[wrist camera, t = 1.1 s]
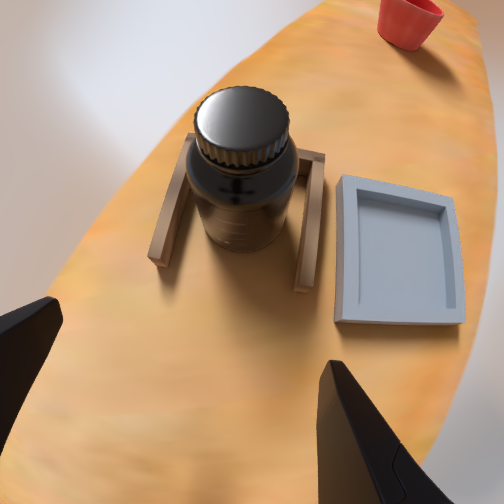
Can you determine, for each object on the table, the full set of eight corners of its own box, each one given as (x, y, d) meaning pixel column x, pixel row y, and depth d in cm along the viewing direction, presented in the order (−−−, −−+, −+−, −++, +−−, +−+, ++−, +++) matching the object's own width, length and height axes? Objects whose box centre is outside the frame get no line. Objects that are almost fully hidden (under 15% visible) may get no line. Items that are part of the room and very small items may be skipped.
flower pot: (433, 51, 37) (452, 13, 28) (410, 62, 35) (431, 16, 25) (387, 20, 39) (401, -18, 30) (357, 27, 37) (371, -18, 28)
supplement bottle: (228, 168, 26) (223, 61, 15) (297, 203, 26) (332, 102, 14) (185, 230, 25) (146, 135, 13) (258, 270, 24) (273, 195, 12)
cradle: (305, 293, 23) (313, 286, 21) (156, 265, 23) (147, 256, 21) (318, 169, 27) (325, 154, 24) (191, 149, 27) (188, 132, 25)
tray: (451, 325, 23) (465, 322, 21) (333, 322, 23) (342, 319, 21) (442, 207, 26) (452, 197, 24) (335, 186, 26) (342, 174, 24)
